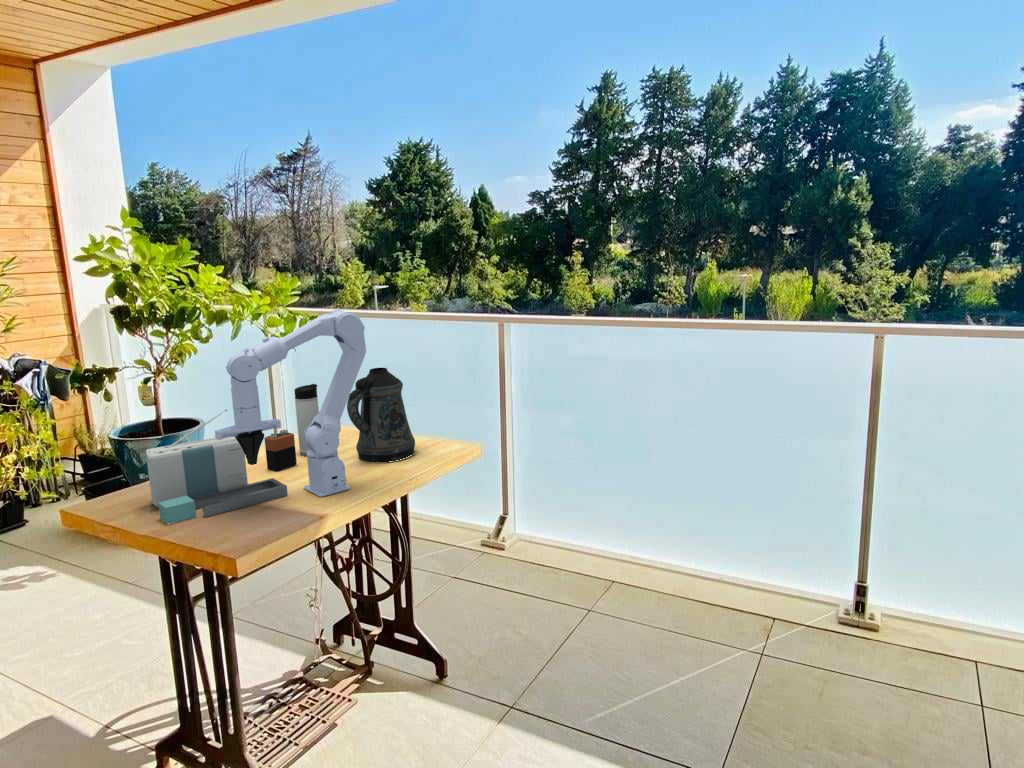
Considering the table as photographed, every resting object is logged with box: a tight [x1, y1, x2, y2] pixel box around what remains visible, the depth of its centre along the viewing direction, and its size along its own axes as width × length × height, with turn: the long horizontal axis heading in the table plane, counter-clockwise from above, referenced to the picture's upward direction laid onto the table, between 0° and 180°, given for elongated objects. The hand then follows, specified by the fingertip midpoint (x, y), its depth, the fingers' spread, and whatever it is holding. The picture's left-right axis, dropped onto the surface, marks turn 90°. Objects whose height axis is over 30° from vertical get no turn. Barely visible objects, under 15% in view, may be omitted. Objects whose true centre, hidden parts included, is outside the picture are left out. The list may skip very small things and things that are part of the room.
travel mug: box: [293, 383, 320, 457], centre depth 201 cm, size 6×7×20 cm
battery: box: [263, 429, 298, 472], centre depth 189 cm, size 4×7×10 cm, turn 146°
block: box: [158, 496, 197, 525], centre depth 155 cm, size 5×6×4 cm
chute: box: [192, 477, 289, 518], centre depth 164 cm, size 19×8×2 cm, turn 132°
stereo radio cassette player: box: [145, 408, 249, 509], centre depth 167 cm, size 21×8×20 cm, turn 125°
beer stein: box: [346, 367, 416, 463], centre depth 195 cm, size 16×19×25 cm
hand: (252, 463), depth 162 cm, fingers closed
